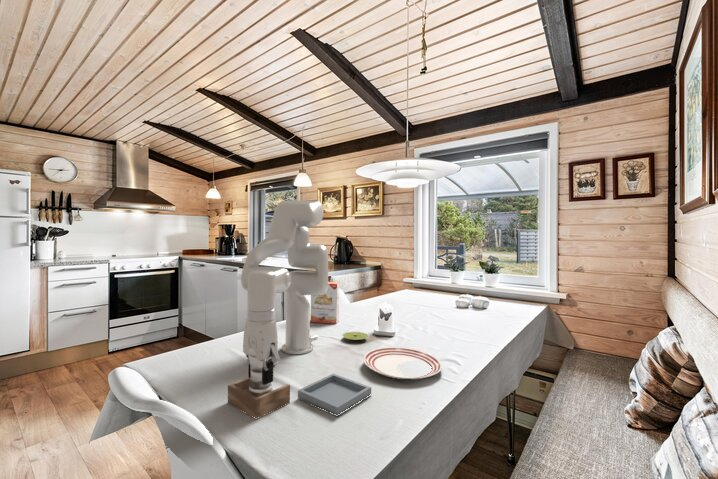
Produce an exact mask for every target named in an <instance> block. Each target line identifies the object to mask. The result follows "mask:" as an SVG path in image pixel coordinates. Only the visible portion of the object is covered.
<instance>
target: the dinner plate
mask: <svg viewBox="0 0 718 479" xmlns="http://www.w3.org/2000/svg"><path fill="white" fill-rule="evenodd" d="M362 360H363V363H364V364H365V366H366V367H367V368H369V370H372V371H374V372H375V373H377V374H379V375H382V376H384V377H389V378H391V377H392V379H395V378H397V379H396V380H403V379H411V380H421V379H425V378H429V377H432V376H433V377H434V376H435V375H438V374H439V373H440V372H441V370H442V368H443V365H442V363H441V360H439V359H438V358H437V357H436V356H434V355H432V354H431V353H428V352H425V351H421V350H419V349H415V348H410V347H409V348H408V347H401V346H400V347H399V346H387V347H386V346H385V347H379V348H375V349H372V350H369V351H368V352H366V353H365V355H364V356H363V359H362ZM413 360H414V361H415V360H416V361H417V360H418V361H423V362H425V363H427V364H429V365H430V366H431V367H432V368H431V369H432V371H431V372H430V373H428V374H427V375H424V376H419V377H408V376H404V374H403V373H402V371H400V372H399V370H400V369H399V370H398V371H397V370H396V369H397V367H396V366H398V364H402V362H403V364H404V362H406V361H409V362H410V361H413ZM398 372H399V373H398ZM402 374H403V375H402Z"/></svg>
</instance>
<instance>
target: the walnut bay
mask: <svg viewBox="0 0 718 479" xmlns="http://www.w3.org/2000/svg"><path fill="white" fill-rule="evenodd" d="M249 386H250V378H249V377H248V376H247V377H246V378H244V379H243V378H242V379H241V380H238V381H235V382H232V383H229V384H228V385H227V404H229V405H230V404H231V405H230V406H232V407H234V408H235V409H237V408H238V409H237V410H239V409H240V410H239V411H241V410H242V411H241V412H243V411H244V412H246V413H247V414H246V413H245V414H246V415H248V414H249V415H251V416H253V417H255V418H258V417H260V416H262V417H264V416H265V415H264V414H266V415H268V414H270V413H272V412H274V411H276V410H278V409H280V408H282V407H284V406H286V405H288V404H290V403H291V401H290V400H291V385H290V384H288V383H287V384H284V385H283V386H280V387H277V388H276V389H273V391H271V392H269V393H266V394H264V395H262V396H260V397H256V396H254V395H252V394H250V393H248V391H249ZM285 404H286V405H285ZM283 405H284V406H283ZM281 406H282V407H281ZM279 407H280V408H279ZM277 408H278V409H277ZM275 409H276V410H275ZM273 410H274V411H273ZM271 411H272V412H271ZM244 412H243V413H244ZM269 412H270V413H269ZM267 413H268V414H267ZM249 415H248V416H249ZM263 415H264V416H263ZM251 416H250V417H251ZM253 417H252V418H253ZM255 418H254V419H255ZM260 418H261V417H260ZM258 419H259V418H258Z"/></svg>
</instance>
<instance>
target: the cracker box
mask: <svg viewBox="0 0 718 479" xmlns="http://www.w3.org/2000/svg"><path fill="white" fill-rule="evenodd" d="M339 317H340V282H339V281H338V282H334V281H328V290H327V292H326V294H324V295H310V323H319V324H320V323H321V324H330V323H331V324H333V325H337V324H338V323H339V319H340V318H339ZM331 324H330V325H331Z"/></svg>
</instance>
